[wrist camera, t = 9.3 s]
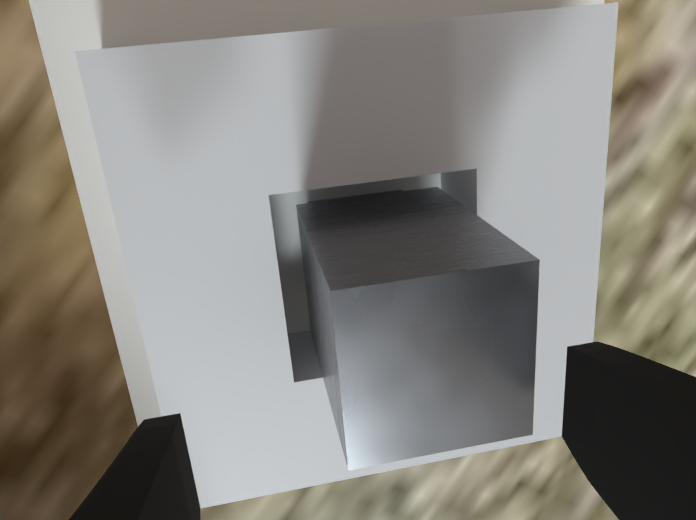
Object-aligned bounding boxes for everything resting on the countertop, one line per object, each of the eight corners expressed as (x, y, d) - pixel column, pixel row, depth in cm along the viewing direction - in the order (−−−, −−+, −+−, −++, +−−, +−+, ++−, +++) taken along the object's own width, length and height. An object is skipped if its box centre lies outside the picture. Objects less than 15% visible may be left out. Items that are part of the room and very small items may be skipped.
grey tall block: (421, 288, 20) (532, 435, 13) (303, 306, 19) (348, 470, 12) (416, 172, 19) (539, 260, 11) (289, 187, 18) (330, 291, 11)
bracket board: (562, 415, 24) (621, 482, 21) (162, 493, 22) (149, 584, 18) (590, -85, 18) (684, -117, 14) (27, -48, 16) (-35, -74, 12)
